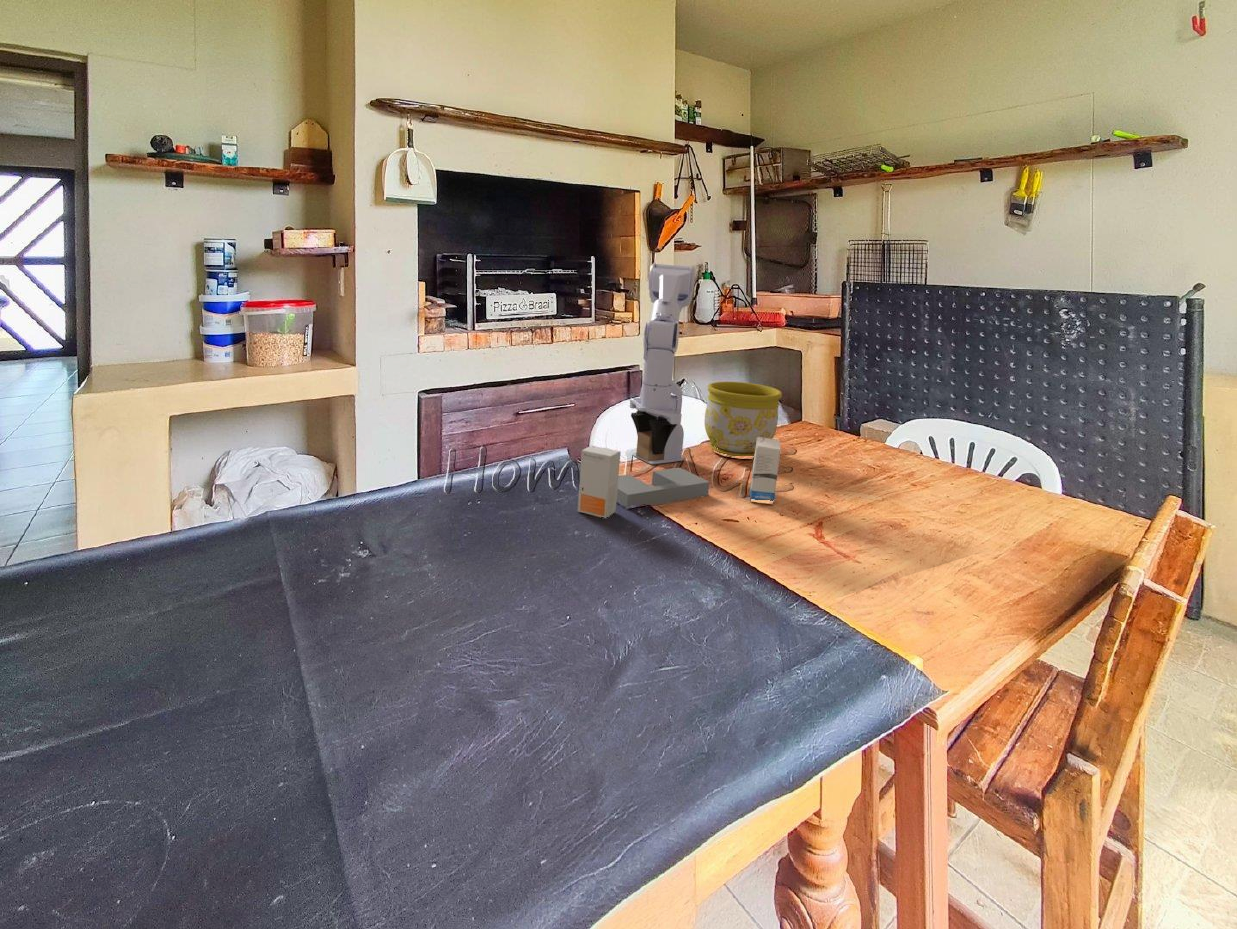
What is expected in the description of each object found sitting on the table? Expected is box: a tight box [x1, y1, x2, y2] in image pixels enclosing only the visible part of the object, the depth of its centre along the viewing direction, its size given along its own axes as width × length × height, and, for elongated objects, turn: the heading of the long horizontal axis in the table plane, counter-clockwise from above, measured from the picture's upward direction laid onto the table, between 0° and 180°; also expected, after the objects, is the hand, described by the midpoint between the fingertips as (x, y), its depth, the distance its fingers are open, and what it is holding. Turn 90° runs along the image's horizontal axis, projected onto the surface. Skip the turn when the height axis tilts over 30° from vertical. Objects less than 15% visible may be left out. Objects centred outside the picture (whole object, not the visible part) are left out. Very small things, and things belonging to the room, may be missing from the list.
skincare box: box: [577, 445, 622, 519], centre depth 124 cm, size 6×4×12 cm
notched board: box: [616, 467, 711, 507], centre depth 138 cm, size 20×10×3 cm, turn 123°
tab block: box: [635, 431, 665, 463], centre depth 137 cm, size 4×4×5 cm
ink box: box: [749, 437, 782, 501], centre depth 139 cm, size 9×5×12 cm, turn 168°
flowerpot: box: [704, 381, 783, 456], centre depth 170 cm, size 18×18×16 cm
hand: (651, 450), depth 137 cm, fingers closed on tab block, 4 cm apart
